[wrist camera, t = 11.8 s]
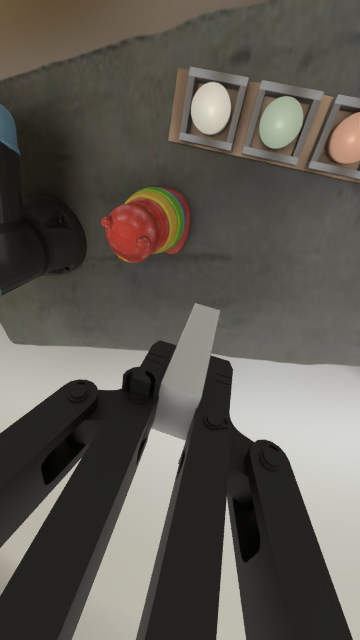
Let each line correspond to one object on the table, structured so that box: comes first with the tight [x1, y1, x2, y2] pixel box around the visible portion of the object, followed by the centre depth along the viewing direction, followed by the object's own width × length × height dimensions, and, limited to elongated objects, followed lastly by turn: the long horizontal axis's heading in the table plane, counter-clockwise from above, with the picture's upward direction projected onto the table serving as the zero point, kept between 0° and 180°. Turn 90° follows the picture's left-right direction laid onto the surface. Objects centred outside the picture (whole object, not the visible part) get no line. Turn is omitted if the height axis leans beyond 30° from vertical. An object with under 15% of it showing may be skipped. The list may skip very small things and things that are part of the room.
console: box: [168, 67, 360, 183], centre depth 33 cm, size 30×8×4 cm, turn 79°
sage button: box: [259, 96, 303, 150], centre depth 31 cm, size 5×5×3 cm
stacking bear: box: [101, 187, 191, 263], centre depth 36 cm, size 11×10×18 cm
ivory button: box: [191, 82, 232, 136], centre depth 32 cm, size 5×5×3 cm
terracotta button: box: [326, 112, 360, 164], centre depth 31 cm, size 5×5×3 cm
